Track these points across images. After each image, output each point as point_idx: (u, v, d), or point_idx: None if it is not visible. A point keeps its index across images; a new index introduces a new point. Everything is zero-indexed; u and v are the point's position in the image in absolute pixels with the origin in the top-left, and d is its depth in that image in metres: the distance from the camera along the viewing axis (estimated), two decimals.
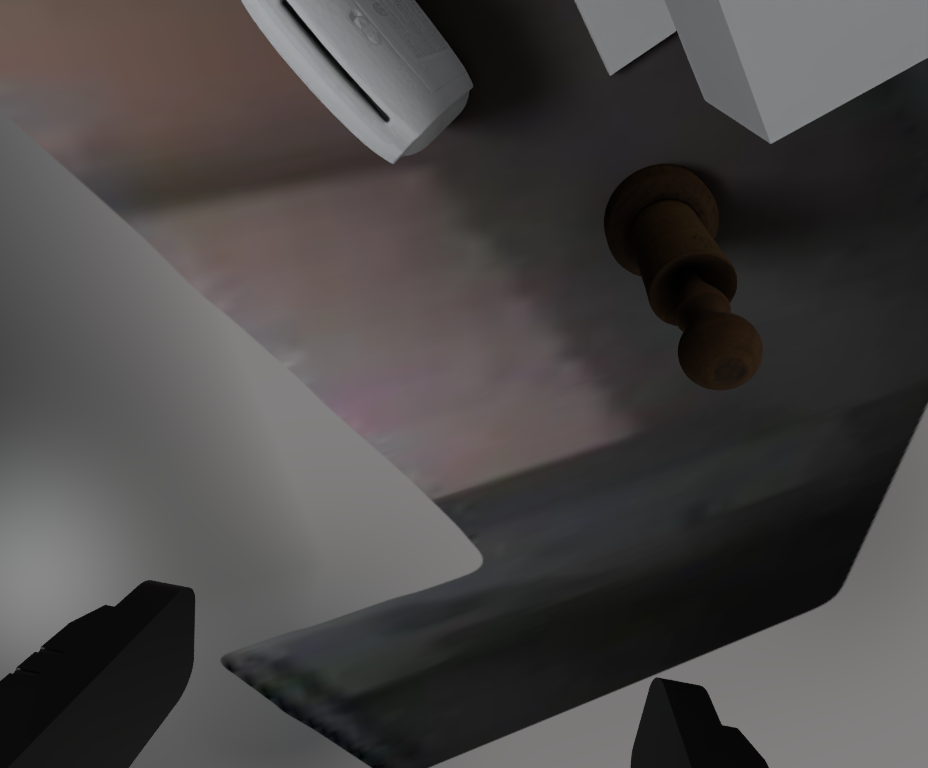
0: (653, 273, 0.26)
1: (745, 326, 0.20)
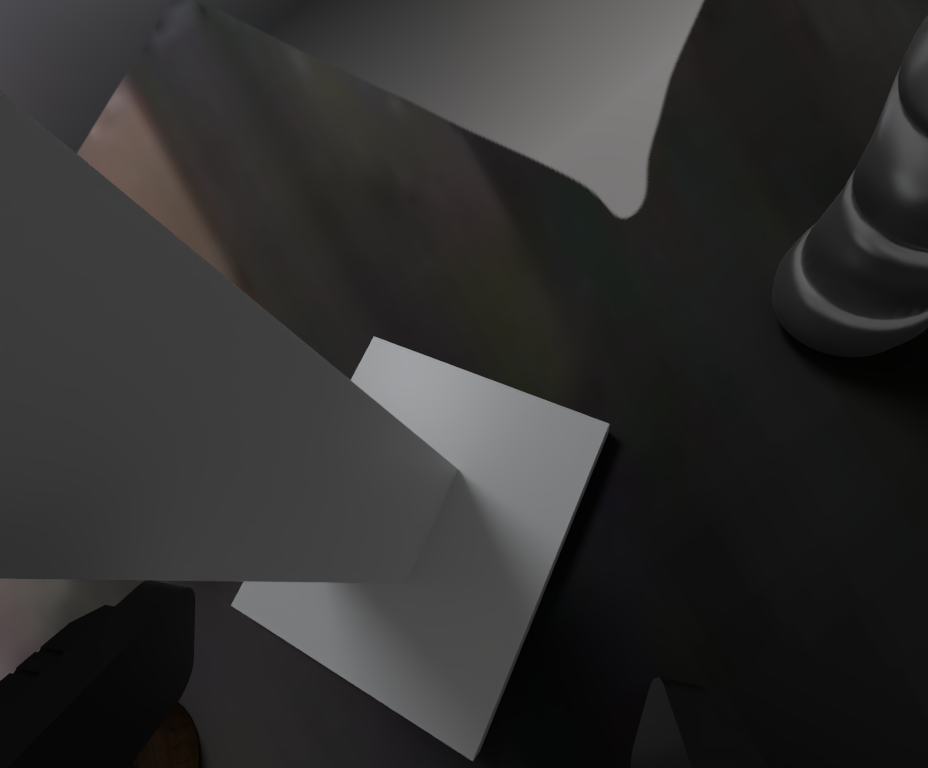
0: None
1: None
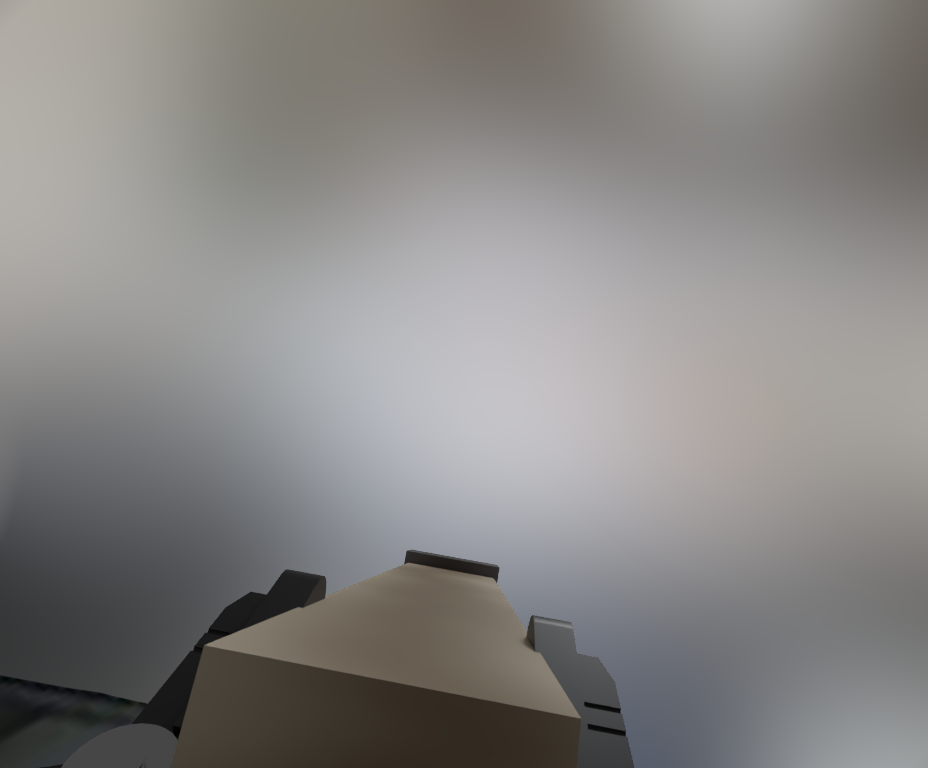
0: None
1: None
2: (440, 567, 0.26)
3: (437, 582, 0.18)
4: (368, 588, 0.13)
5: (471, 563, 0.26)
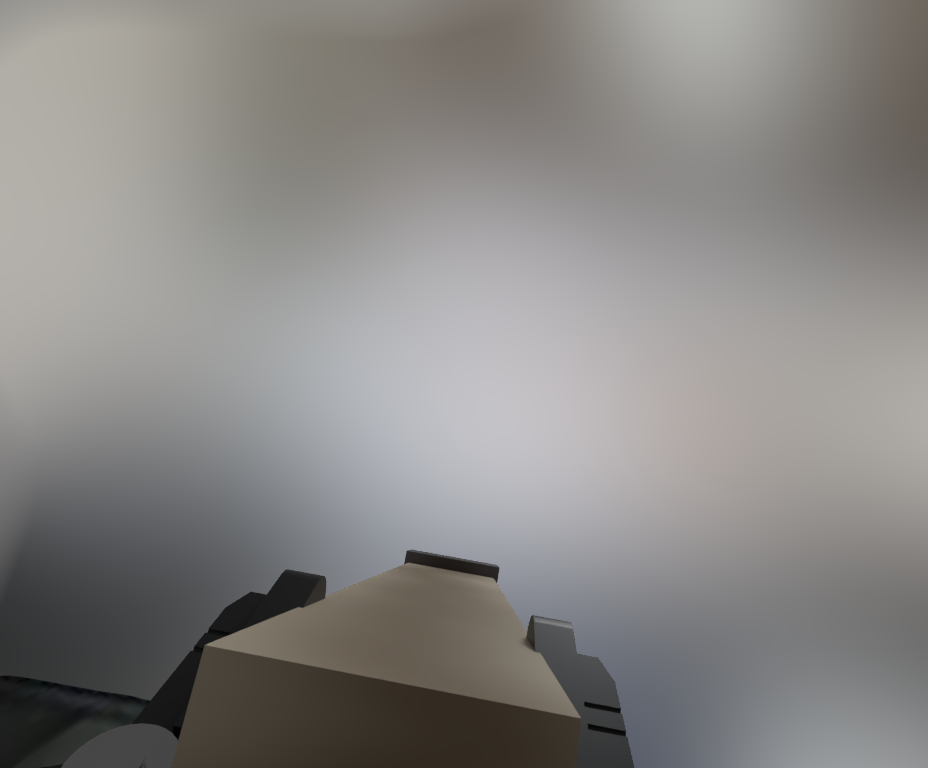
0: None
1: None
2: (440, 567, 0.26)
3: (437, 582, 0.18)
4: (368, 588, 0.13)
5: (471, 563, 0.26)
